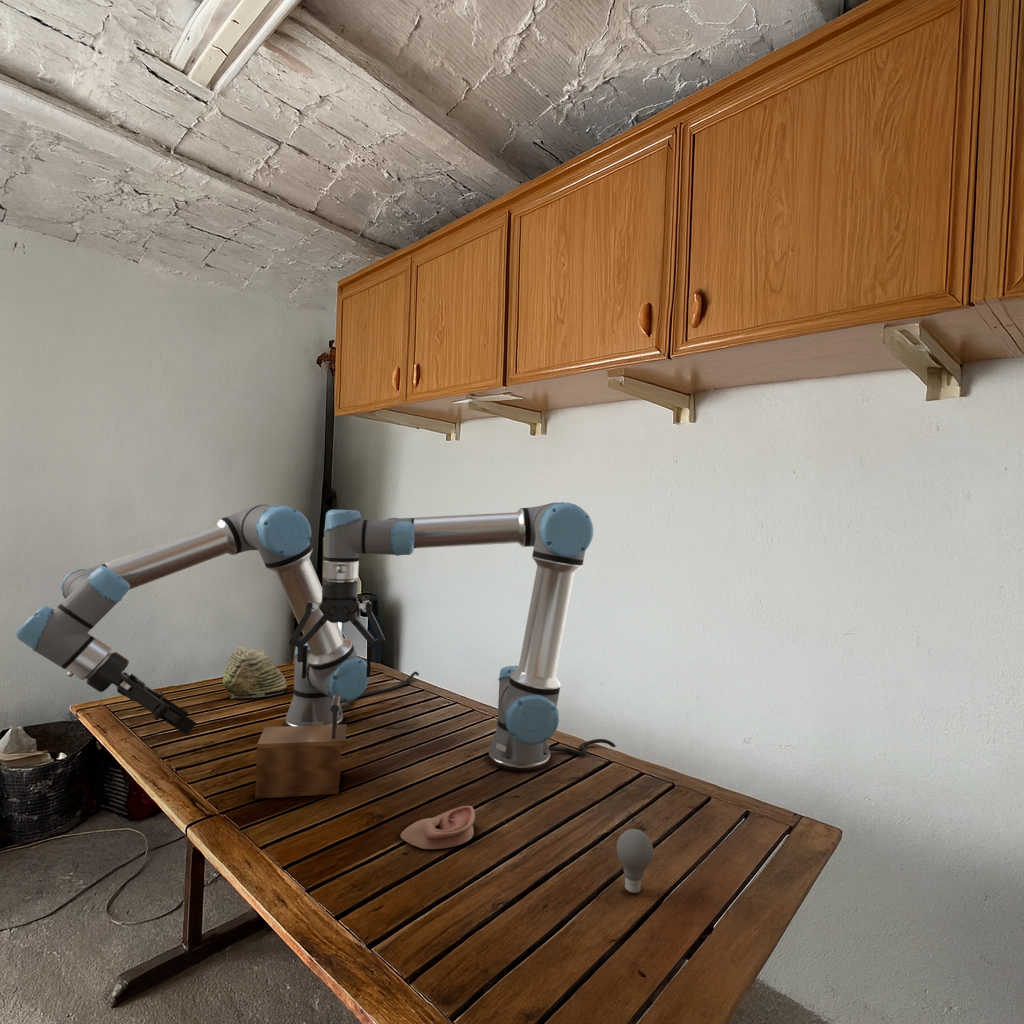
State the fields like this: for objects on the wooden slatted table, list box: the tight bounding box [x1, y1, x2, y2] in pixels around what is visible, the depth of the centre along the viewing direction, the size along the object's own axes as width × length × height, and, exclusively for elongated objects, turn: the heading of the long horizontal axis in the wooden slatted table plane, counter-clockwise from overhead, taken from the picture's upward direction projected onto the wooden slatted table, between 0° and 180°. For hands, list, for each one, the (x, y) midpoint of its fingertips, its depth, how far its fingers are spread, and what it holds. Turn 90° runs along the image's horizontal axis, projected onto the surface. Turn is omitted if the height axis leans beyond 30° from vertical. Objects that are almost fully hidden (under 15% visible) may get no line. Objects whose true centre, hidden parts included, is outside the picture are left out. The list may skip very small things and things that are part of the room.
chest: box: [254, 746, 342, 800], centre depth 138 cm, size 17×10×10 cm, turn 103°
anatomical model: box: [399, 805, 476, 850], centre depth 121 cm, size 13×4×12 cm
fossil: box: [222, 646, 288, 699], centre depth 198 cm, size 9×18×15 cm, turn 132°
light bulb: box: [615, 828, 654, 894], centre depth 106 cm, size 6×6×10 cm
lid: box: [256, 694, 348, 750], centre depth 138 cm, size 18×10×8 cm, turn 103°
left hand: (187, 723), depth 135 cm, fingers open, 13 cm apart
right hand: (336, 676), depth 139 cm, fingers open, 13 cm apart
